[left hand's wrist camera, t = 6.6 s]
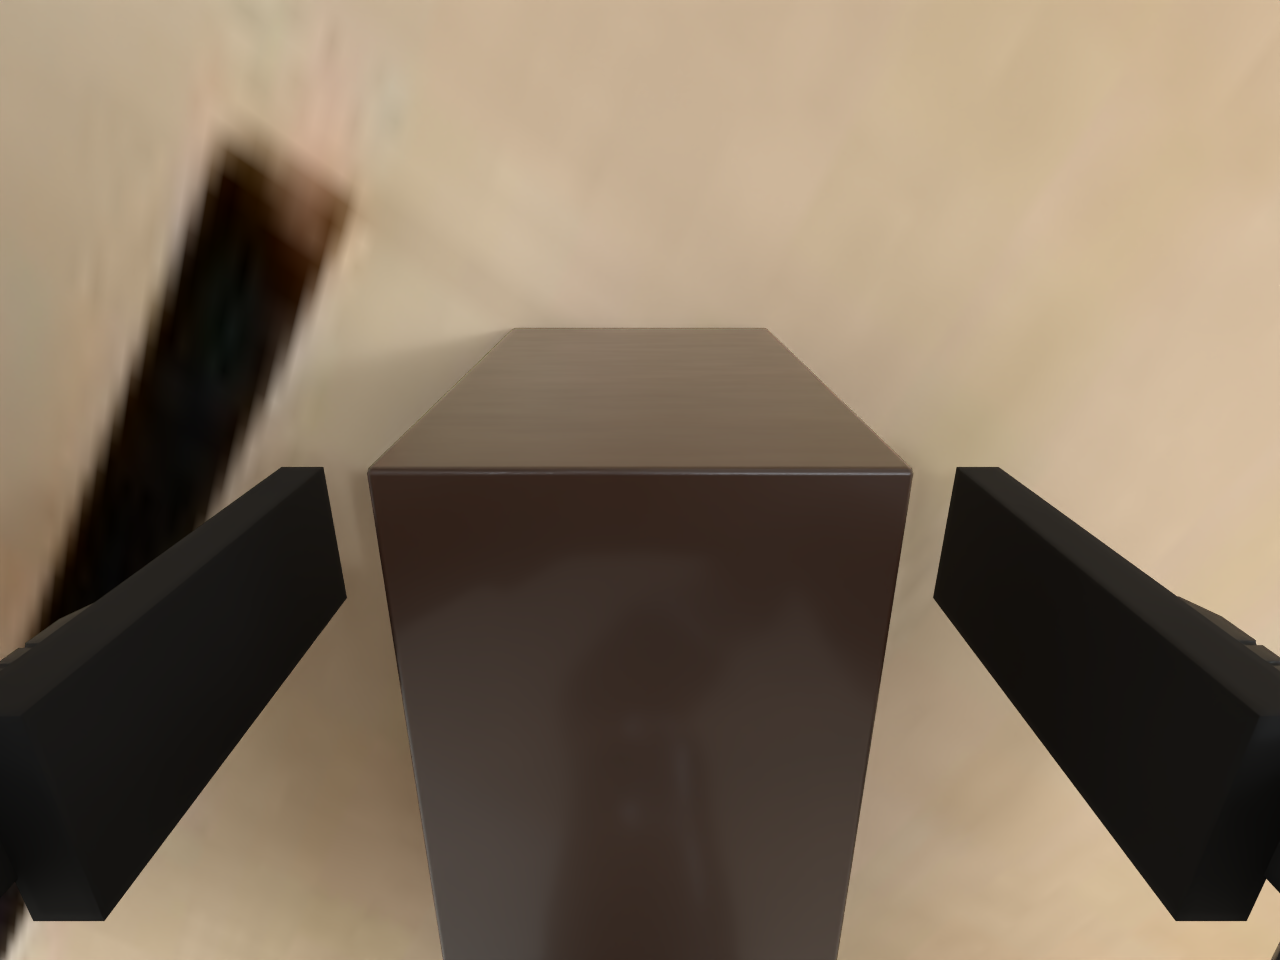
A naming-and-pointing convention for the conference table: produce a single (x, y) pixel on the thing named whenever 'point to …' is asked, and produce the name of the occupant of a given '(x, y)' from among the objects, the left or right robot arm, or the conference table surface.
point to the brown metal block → (640, 643)
